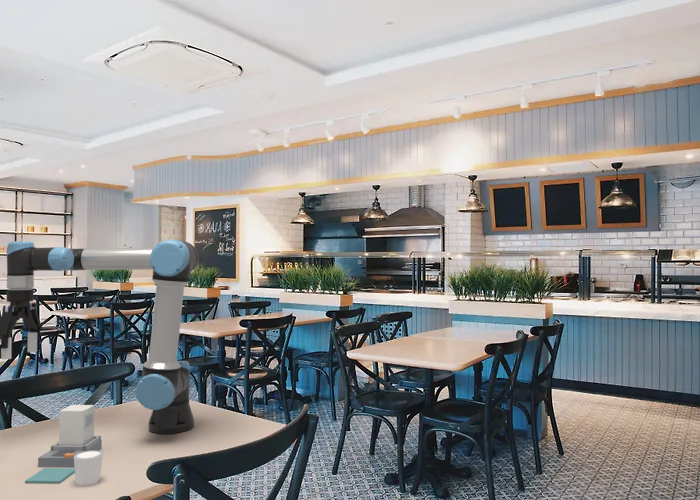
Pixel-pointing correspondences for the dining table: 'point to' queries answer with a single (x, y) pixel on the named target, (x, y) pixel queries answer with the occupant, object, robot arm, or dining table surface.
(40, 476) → the mat
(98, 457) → the white cup
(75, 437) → the block
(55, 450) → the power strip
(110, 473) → the dining table surface
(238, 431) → the dining table surface
